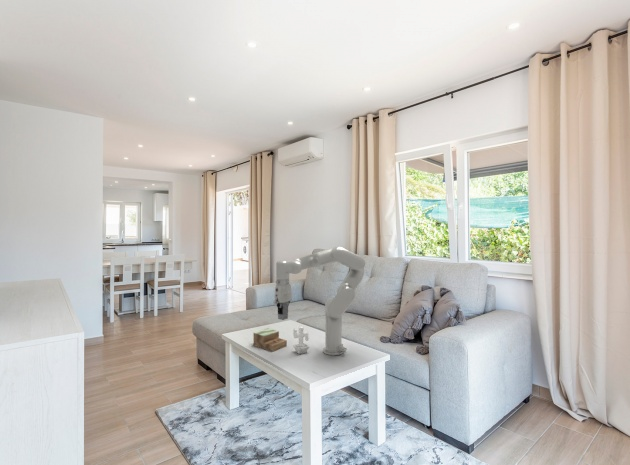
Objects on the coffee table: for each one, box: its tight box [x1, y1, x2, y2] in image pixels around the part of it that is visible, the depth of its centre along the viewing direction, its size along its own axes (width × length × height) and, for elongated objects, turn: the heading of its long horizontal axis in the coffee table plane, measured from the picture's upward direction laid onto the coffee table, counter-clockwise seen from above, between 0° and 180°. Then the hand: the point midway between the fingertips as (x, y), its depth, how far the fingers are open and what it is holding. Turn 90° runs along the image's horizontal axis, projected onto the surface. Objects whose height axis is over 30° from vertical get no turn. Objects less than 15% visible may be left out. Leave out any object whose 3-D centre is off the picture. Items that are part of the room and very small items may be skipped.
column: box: [277, 301, 289, 321], centre depth 195 cm, size 4×4×12 cm
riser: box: [253, 327, 288, 352], centre depth 206 cm, size 17×12×8 cm
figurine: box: [292, 325, 310, 355], centre depth 195 cm, size 7×9×15 cm
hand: (282, 313), depth 195 cm, fingers closed on column, 4 cm apart
